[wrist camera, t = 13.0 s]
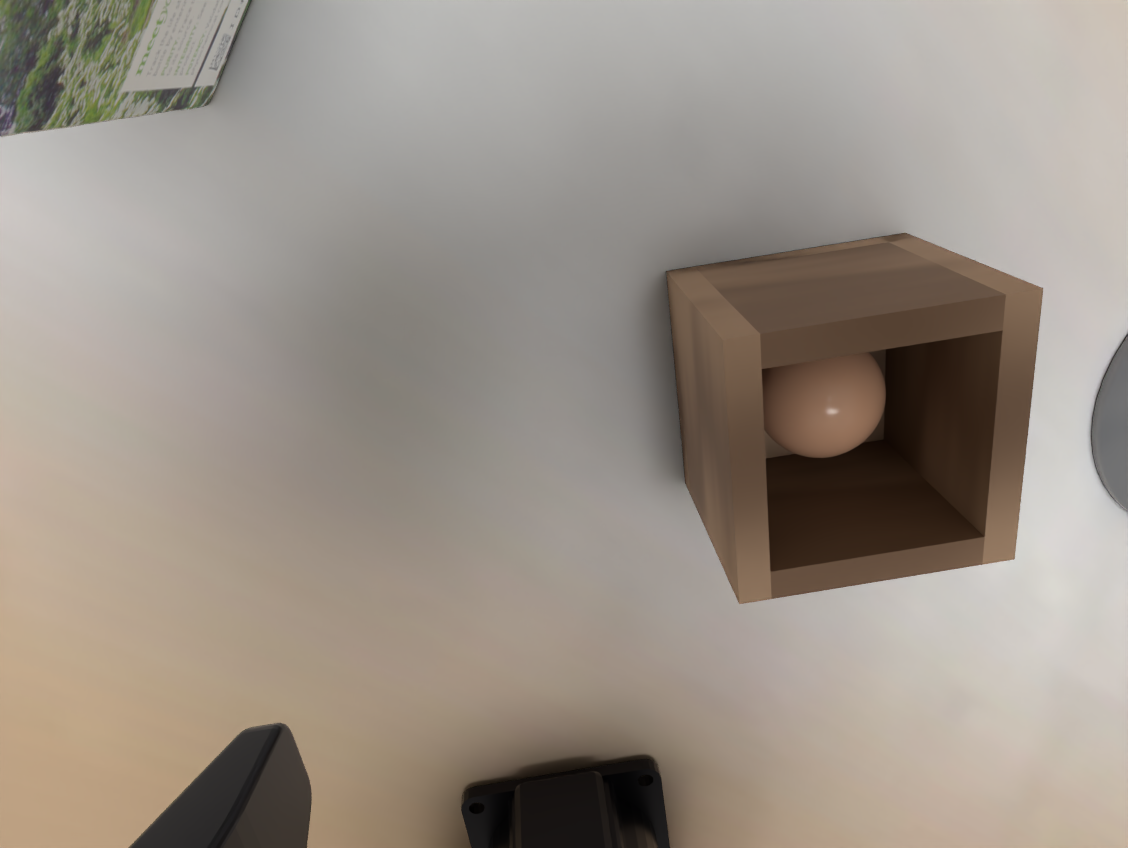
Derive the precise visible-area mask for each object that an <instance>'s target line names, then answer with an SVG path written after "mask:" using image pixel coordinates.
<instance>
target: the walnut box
mask: <svg viewBox="0 0 1128 848" xmlns="http://www.w3.org/2000/svg"><path fill="white" fill-rule="evenodd" d="M666 276H667V287H668V298H669V309H670V320H671V331H672V342H673V353H674V364H675V375H676V386H677V397H678V408H679V419H680V430H681V441H682V452H683V463H684V474H685V484H686V486H687V488H688V490H689V493H690V495H691V497H692V499H693V502H694V504H695V506H696V508H697V510H698V513H699V515H700V517H701V519H702V522H703V524H704V526H705V528H706V531H707V533H708V535H709V537H710V539H711V542H712V544H713V546H714V548H715V551H716V553H717V555H718V557H719V560H720V562H721V564H722V566H723V568H724V571H725V573H726V575H727V577H728V580H729V582H730V584H731V586H732V589H733V591H734V593H735V595H736V597H737V600H738V602H739V604H743V603H749V602H755V601H761V600H767V599H774V598H780V597H786V596H792V595H798V594H804V593H810V592H816V591H823V590H829V589H835V588H841V587H847V586H853V585H859V584H866V583H872V582H878V581H884V580H890V579H896V578H902V577H908V576H915V575H921V574H927V573H933V572H939V571H945V570H951V569H958V568H964V567H970V566H976V565H982V564H988V563H994V562H1000V561H1007V560H1013V559H1014V558H1015V549H1016V539H1017V530H1018V520H1019V511H1020V502H1021V492H1022V483H1023V474H1024V464H1025V455H1026V445H1027V436H1028V427H1029V417H1030V408H1031V398H1032V389H1033V380H1034V370H1035V361H1036V351H1037V342H1038V333H1039V323H1040V314H1041V305H1042V295H1043V288H1041V287H1038V286H1036V285H1033V284H1031V283H1028V282H1026V281H1023V280H1021V279H1018V278H1016V277H1014V276H1011V275H1009V274H1006V273H1004V272H1001V271H999V270H996V269H994V268H991V267H989V266H986V265H984V264H981V263H979V262H976V261H974V260H971V259H969V258H966V257H964V256H962V255H959V254H957V253H954V252H952V251H949V250H947V249H944V248H942V247H939V246H937V245H934V244H932V243H929V242H927V241H924V240H922V239H919V238H917V237H914V236H912V235H910V234H907V233H902V234H896V235H890V236H883V237H877V238H871V239H865V240H858V241H852V242H846V243H839V244H833V245H827V246H821V247H814V248H808V249H802V250H795V251H789V252H783V253H777V254H770V255H764V256H758V257H751V258H745V259H739V260H733V261H726V262H720V263H714V264H707V265H701V266H695V267H689V268H682V269H676V270H670V271H666ZM866 352H869V353H870V354H871V355H872V356H873V357H874V359H875V360H876V362H877V363H878V365H879V367H880V369H881V371H882V374H883V377H884V381H885V386H886V401H885V407H884V412H883V414H882V417H881V419H880V421H879V423H878V425H877V427H876V428H875V430H874V431H873V432H872V434H871V435H870V436H869V437H868V438H867V439H866V440H865V441H864V442H863V443H861V444H860V445H859V446H857V447H856V448H854V449H852V450H850V451H848V452H846V453H843V454H841V455H838V456H833V457H827V458H811V457H805V456H801V455H798V454H795V453H792V452H790V451H788V450H786V449H785V448H783V447H781V446H780V445H778V444H777V443H776V442H775V441H774V440H773V439H772V438H771V437H770V436H769V435H768V434H767V433H766V432H765V430H764V412H763V389H762V369H766V368H772V367H778V366H785V365H791V364H797V363H803V362H809V361H816V360H822V359H828V358H834V357H841V356H847V355H853V354H859V353H866Z"/></svg>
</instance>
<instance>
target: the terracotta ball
mask: <svg viewBox="0 0 1128 848" xmlns="http://www.w3.org/2000/svg"><path fill="white" fill-rule="evenodd" d="M762 389H763V412H764V430H765V432H766V433H767V434H768V435H769V436H770V437H771V438H772V439H773V440H774V441H775V442H776V443H777V444H778V445H780V446H781V447H783V448H785V449H786V450H788V451H790V452H792V453H795V454H798V455H801V456H805V457H811V458H827V457H833V456H838V455H841V454H843V453H846V452H848V451H850V450H852V449H854V448H856V447H857V446H859V445H860V444H861V443H863V442H864V441H865V440H866V439H867V438H868V437H869V436H870V435H871V434H872V432H873V431H874V430H875V428H876V427H877V425H878V423H879V421H880V419H881V417H882V414H883V412H884V407H885V401H886V386H885V381H884V377H883V374H882V371H881V369H880V367H879V365H878V363H877V362H876V360H875V359H874V357H873V356H872V355H871V354H870V353H869V352H866V353H859V354H853V355H847V356H841V357H834V358H828V359H822V360H816V361H809V362H803V363H797V364H791V365H785V366H778V367H772V368H766V369H762Z"/></svg>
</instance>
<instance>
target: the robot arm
mask: <svg viewBox="0 0 1128 848" xmlns="http://www.w3.org/2000/svg"><path fill="white" fill-rule="evenodd" d="M642 775H646V776H642ZM475 802H476V803H479V804H476V803H475ZM461 811H462V814H463V818H464V822H465V825H466V829H467V833H468V836H469V840H470V844H471V847H472V848H670V845H669V837H668V830H667V822H666V814H665V806H664V798H663V790H662V782H661V776H660V772H659V768H658V765H657V764H656V763H655V762H654V761H652V760H649V759H641V760H635V761H629V762H623V763H617V764H611V765H605V766H598V767H592V768H586V769H580V770H574V771H568V772H562V773H556V774H550V775H544V776H538V777H532V778H526V779H519V780H513V781H507V782H501V783H495V784H489V785H483V786H477V787H473V788H469V789H468V790H466V791H465V792H464V793H463V795H462V806H461ZM310 812H311V785H310V780H309V777H308V774H307V772H306V769H305V766H304V764H303V761H302V758H301V756H300V753H299V750H298V748H297V745H296V742H295V740H294V737H293V734H292V732H291V730H290V729H289V728H288V726H287V725H285V724H283V723H274V724H268V725H262V726H256V727H251V728H248V729H245V730H243V731H242V732H241V733H240V734H239V735H237V737H236V738H235V739H234V740H233V741H232V742H231V743H230V744H229V745H228V746H227V747H226V748H225V749H224V750H223V751H222V752H221V753H220V754H219V755H218V756H217V757H216V758H215V759H214V760H213V761H212V762H211V763H210V764H209V765H208V766H207V767H206V768H205V769H204V771H203V772H202V773H201V774H200V775H199V776H198V777H197V778H196V779H195V780H194V781H193V782H192V783H191V784H190V785H189V786H188V787H187V788H186V789H185V790H184V791H183V792H182V793H181V794H180V795H179V796H178V797H177V798H176V799H175V800H174V801H173V802H172V803H171V805H170V806H169V807H168V808H167V809H166V810H165V811H164V812H163V813H162V814H161V815H160V816H159V817H158V818H157V819H156V820H155V821H154V822H153V823H152V824H151V825H150V826H149V827H148V828H147V829H146V830H145V831H144V832H143V833H142V834H141V835H140V836H139V838H138V839H137V840H136V841H135V842H134V843H133V844H132V845H131V846H130V847H129V848H307V840H308V830H309V821H310Z"/></svg>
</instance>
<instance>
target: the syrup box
mask: <svg viewBox="0 0 1128 848" xmlns="http://www.w3.org/2000/svg"><path fill="white" fill-rule="evenodd" d="M250 2H251V0H0V137H3V136H9V135H15V134H19V133H30V132H39V131H45V130H51V129H59V128H68V127H74V126H79V125H84V124H90V123H97V122H104V121H110V120H117V119H123V118H130V117H138V116H144V115H151V114H155V113H162V112H168V111H175V110H185V109H193V108H198V107H203V106H206V105H208V104H209V102H210V100H211V98H212V96H213V93H214V91H215V89H216V86H217V84H218V81H219V79H220V76H221V74H222V72H223V69H224V67H225V64H226V61H227V58H228V56H229V53H230V51H231V48H232V46H233V44H234V41H235V39H236V36H237V33H238V31H239V29H240V27H241V24H242V21H243V18H244V16H245V14H246V11H247V9H248V7H249V4H250Z"/></svg>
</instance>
